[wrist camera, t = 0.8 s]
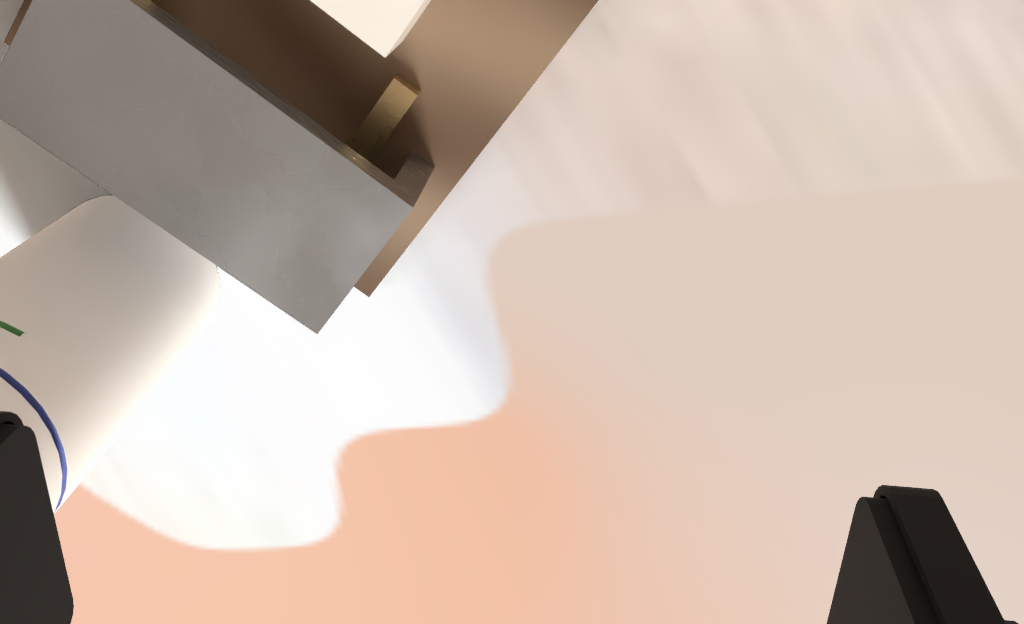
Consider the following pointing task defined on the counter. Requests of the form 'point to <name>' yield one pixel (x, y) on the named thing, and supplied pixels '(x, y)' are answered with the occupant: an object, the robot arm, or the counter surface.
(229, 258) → the overhang dock
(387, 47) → the cream bevelled block
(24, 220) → the counter surface
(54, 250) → the cylindrical container
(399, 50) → the board
